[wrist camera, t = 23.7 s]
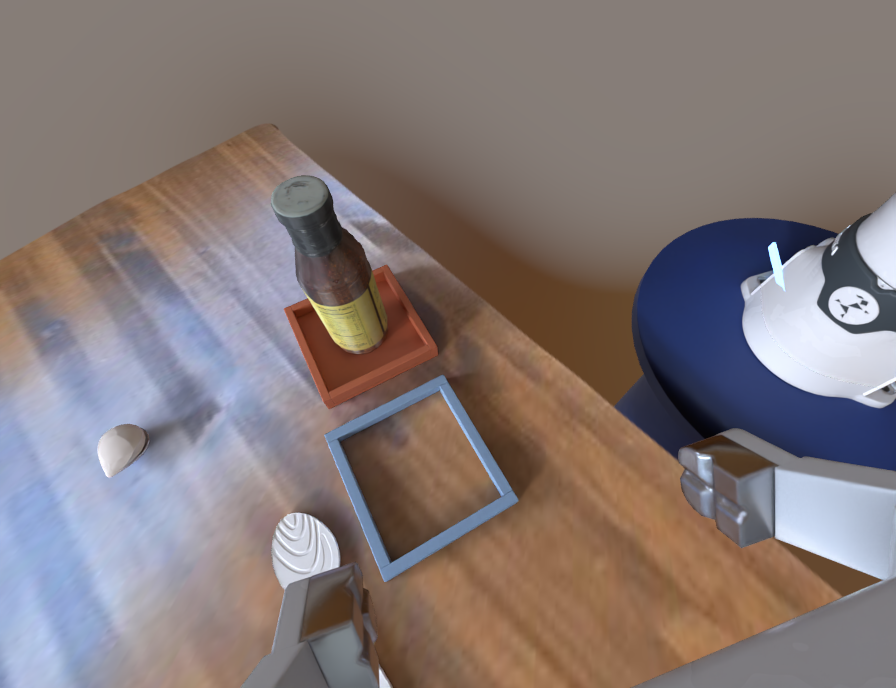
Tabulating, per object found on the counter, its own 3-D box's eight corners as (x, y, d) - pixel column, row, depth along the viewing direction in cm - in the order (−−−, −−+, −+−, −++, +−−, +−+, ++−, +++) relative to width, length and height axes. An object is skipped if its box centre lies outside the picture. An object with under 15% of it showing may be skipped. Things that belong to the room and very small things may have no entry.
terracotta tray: (389, 274, 51) (387, 264, 49) (438, 355, 45) (437, 346, 43) (289, 318, 48) (283, 308, 46) (329, 409, 43) (323, 402, 41)
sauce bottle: (352, 302, 48) (291, 148, 31) (400, 320, 47) (365, 170, 30) (321, 348, 45) (235, 207, 28) (371, 369, 44) (314, 235, 27)
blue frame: (443, 378, 44) (443, 373, 43) (517, 502, 38) (519, 500, 37) (327, 438, 41) (323, 434, 40) (386, 581, 35) (384, 582, 34)
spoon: (365, 760, 30) (363, 763, 29) (258, 536, 37) (256, 536, 36) (427, 702, 31) (426, 704, 31) (313, 498, 38) (311, 497, 38)
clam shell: (161, 430, 42) (144, 422, 40) (140, 481, 40) (122, 476, 37) (119, 428, 42) (101, 420, 40) (97, 479, 40) (75, 473, 38)
